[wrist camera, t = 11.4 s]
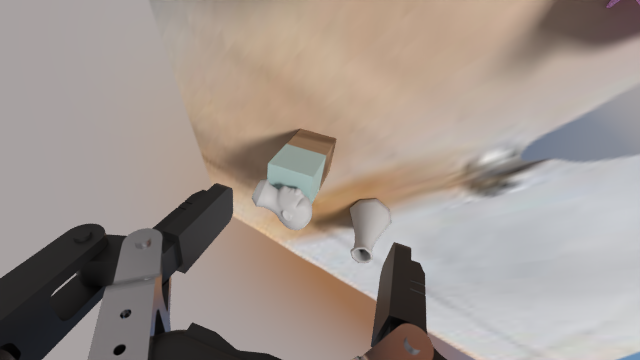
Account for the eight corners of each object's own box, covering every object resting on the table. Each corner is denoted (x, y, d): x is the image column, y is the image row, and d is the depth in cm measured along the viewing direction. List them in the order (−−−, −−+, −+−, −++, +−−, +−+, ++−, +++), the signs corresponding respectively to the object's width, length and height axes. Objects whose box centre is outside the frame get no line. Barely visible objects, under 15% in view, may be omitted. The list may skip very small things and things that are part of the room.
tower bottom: (300, 128, 45) (286, 143, 40) (336, 138, 44) (326, 155, 39) (296, 160, 48) (282, 178, 43) (329, 170, 47) (319, 189, 42)
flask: (342, 205, 50) (328, 243, 42) (379, 191, 47) (371, 231, 39) (362, 234, 52) (352, 276, 44) (398, 224, 49) (395, 267, 41)
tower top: (286, 143, 40) (268, 163, 35) (326, 155, 39) (313, 177, 34) (282, 178, 43) (265, 200, 38) (319, 189, 42) (306, 213, 37)
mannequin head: (323, 199, 37) (300, 226, 38) (274, 162, 36) (252, 191, 37) (321, 213, 33) (295, 242, 34) (265, 172, 32) (241, 204, 33)
